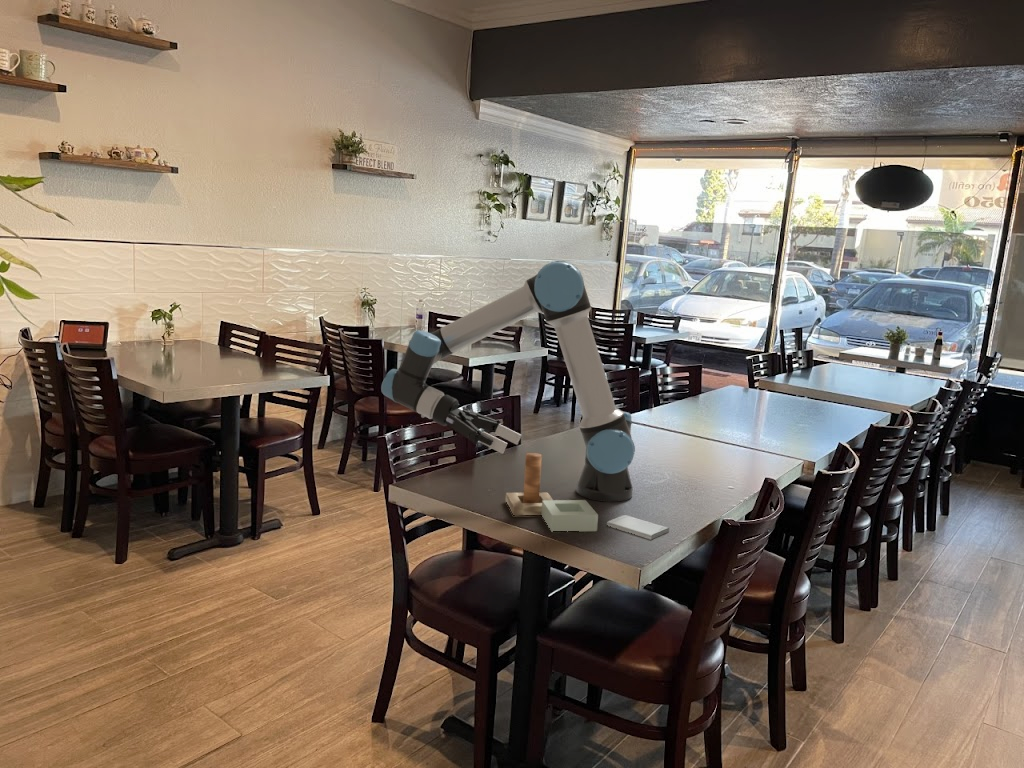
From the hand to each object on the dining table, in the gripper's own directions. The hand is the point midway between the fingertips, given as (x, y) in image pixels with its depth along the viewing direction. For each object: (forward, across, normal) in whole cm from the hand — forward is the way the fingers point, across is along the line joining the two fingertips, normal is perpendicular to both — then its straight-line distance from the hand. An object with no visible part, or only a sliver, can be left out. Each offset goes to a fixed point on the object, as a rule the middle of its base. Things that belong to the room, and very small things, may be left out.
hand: (512, 444), depth 194 cm
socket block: (+21, +4, -10) cm, 24 cm away
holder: (+10, -3, -14) cm, 18 cm away
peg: (+10, -3, -14) cm, 18 cm away
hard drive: (+36, 0, -5) cm, 37 cm away
